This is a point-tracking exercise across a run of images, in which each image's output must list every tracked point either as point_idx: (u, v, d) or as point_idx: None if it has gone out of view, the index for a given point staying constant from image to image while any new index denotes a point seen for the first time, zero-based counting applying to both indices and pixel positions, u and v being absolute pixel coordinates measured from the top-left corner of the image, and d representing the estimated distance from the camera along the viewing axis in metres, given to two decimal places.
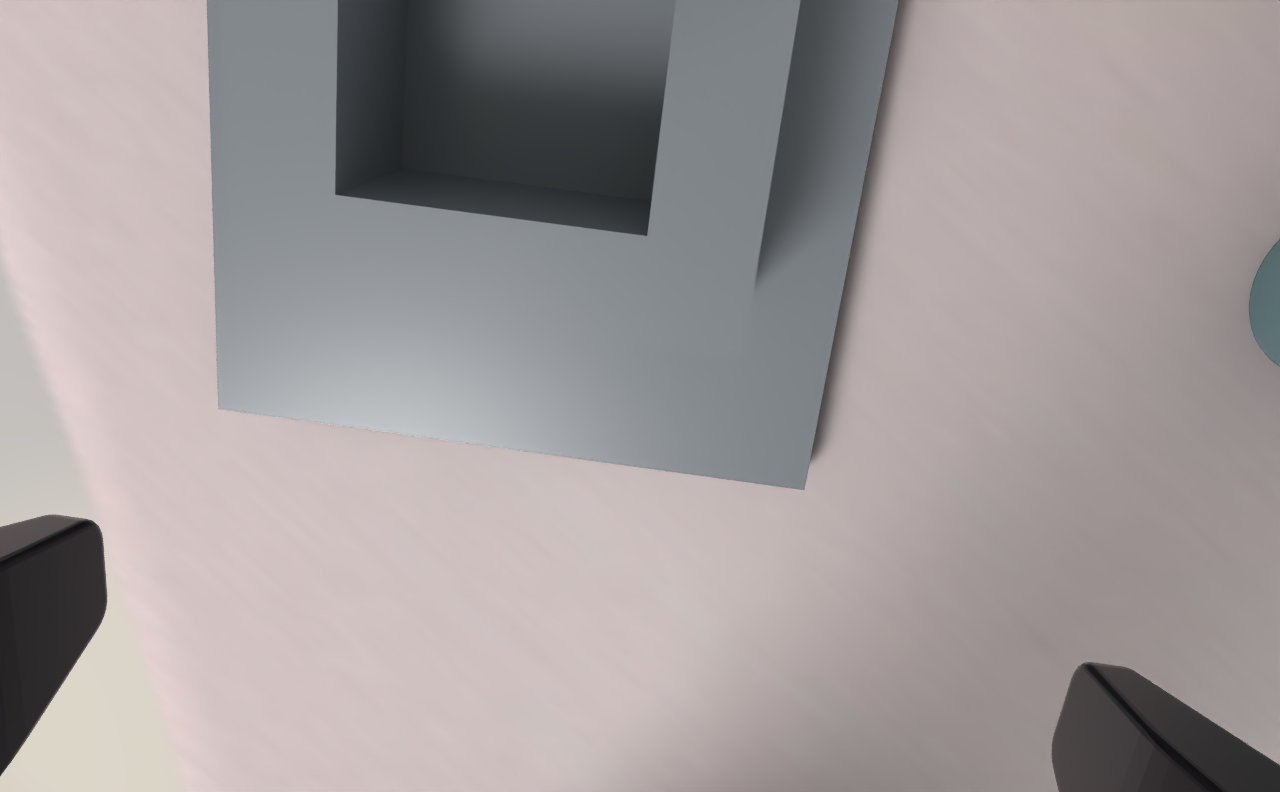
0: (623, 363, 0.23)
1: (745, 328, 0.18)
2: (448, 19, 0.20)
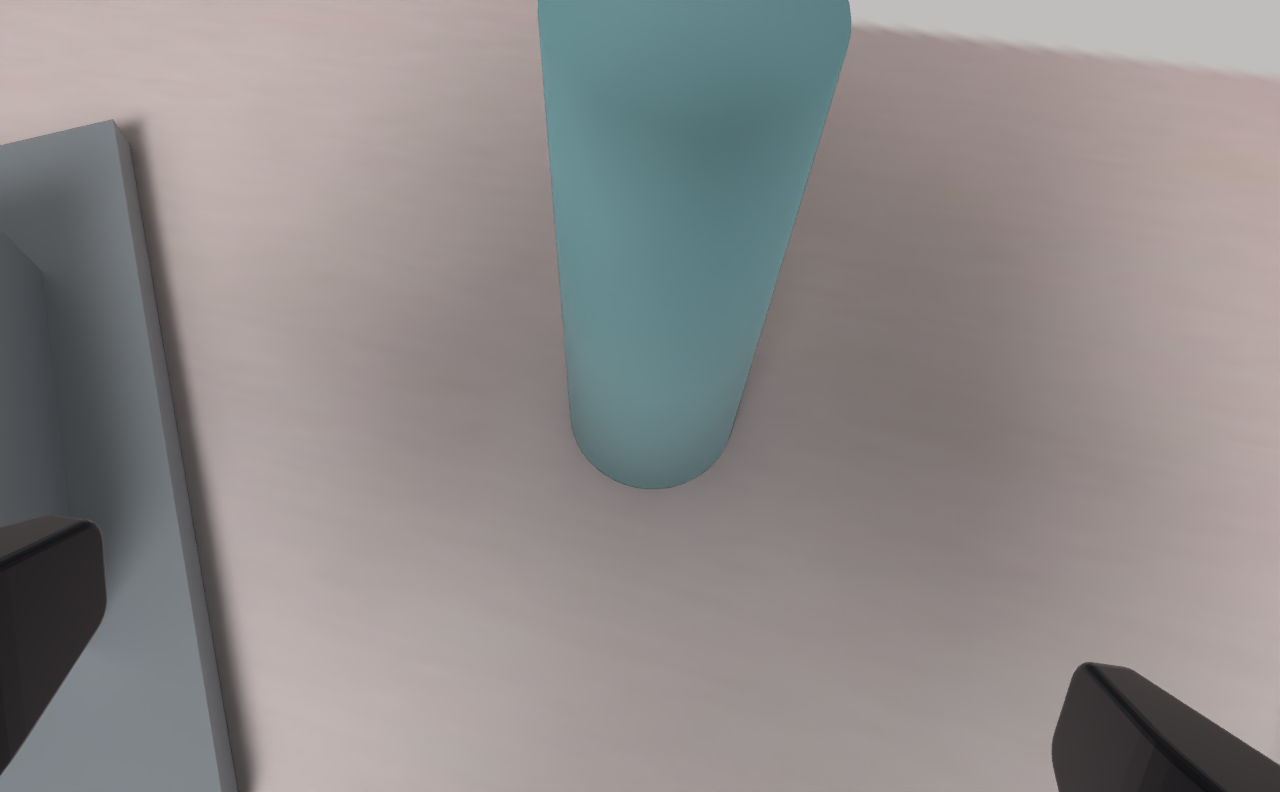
0: None
1: None
2: None
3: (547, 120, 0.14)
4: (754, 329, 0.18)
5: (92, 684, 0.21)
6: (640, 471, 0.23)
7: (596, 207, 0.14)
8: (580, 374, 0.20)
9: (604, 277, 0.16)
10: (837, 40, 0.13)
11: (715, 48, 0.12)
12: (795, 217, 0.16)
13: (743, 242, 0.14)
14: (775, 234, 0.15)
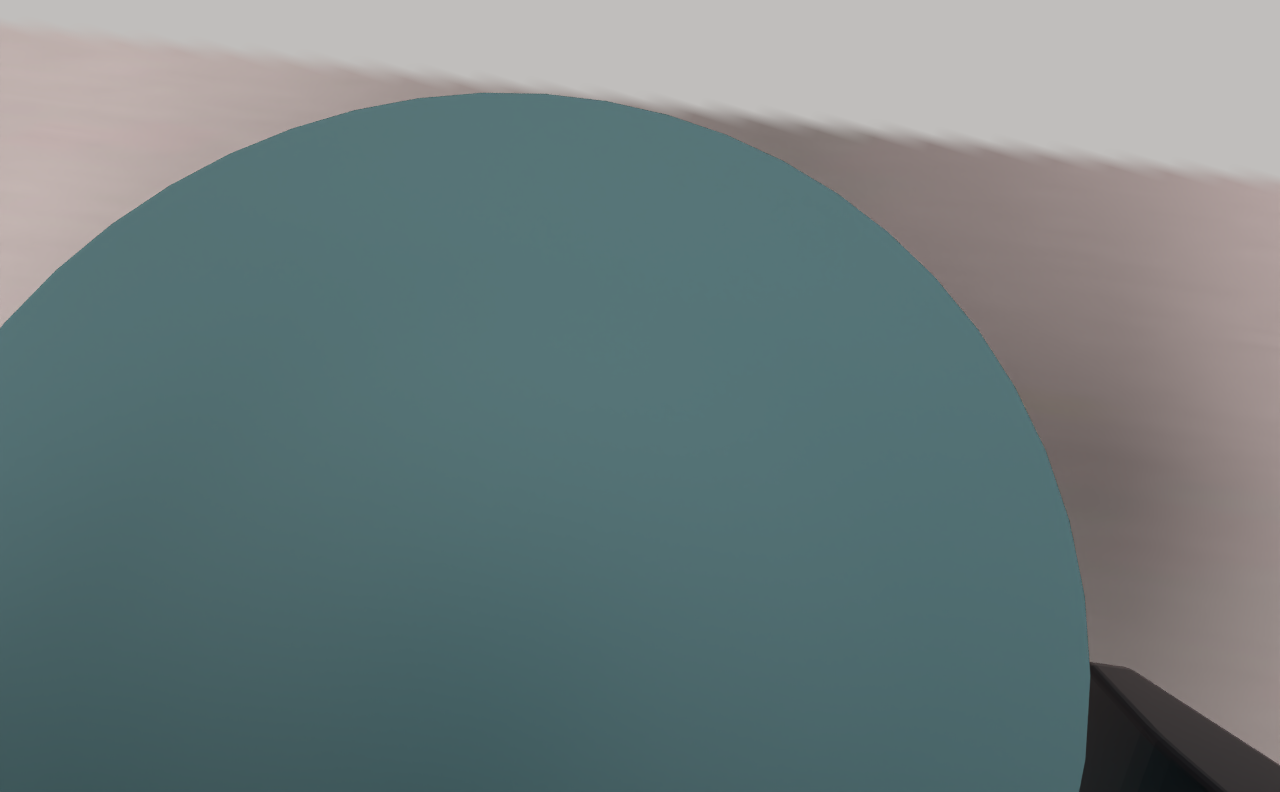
0: None
1: None
2: None
3: None
4: None
5: None
6: None
7: None
8: None
9: None
10: (1041, 703, 0.03)
11: (551, 765, 0.03)
12: None
13: None
14: None
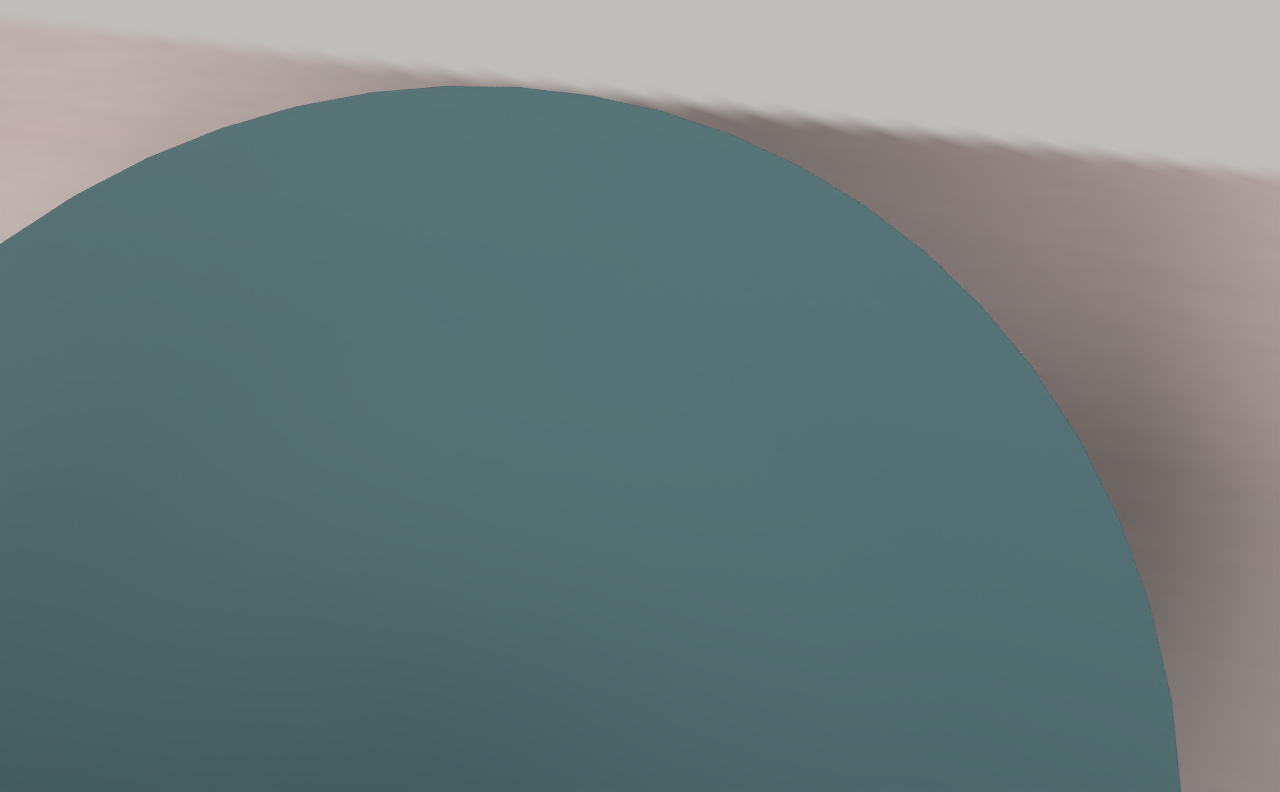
0: None
1: None
2: None
3: None
4: None
5: None
6: None
7: None
8: None
9: None
10: None
11: None
12: None
13: None
14: None
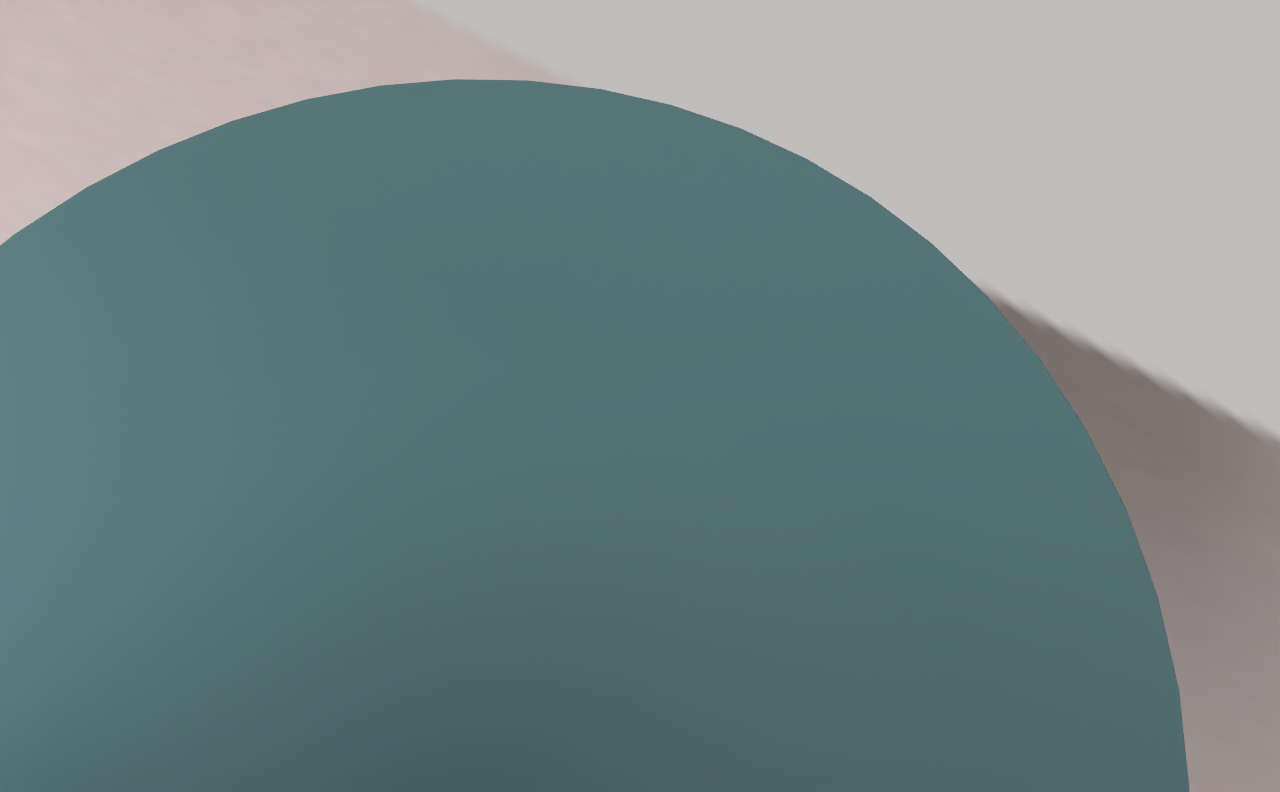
0: None
1: None
2: None
3: None
4: None
5: None
6: None
7: None
8: None
9: None
10: None
11: None
12: None
13: None
14: None
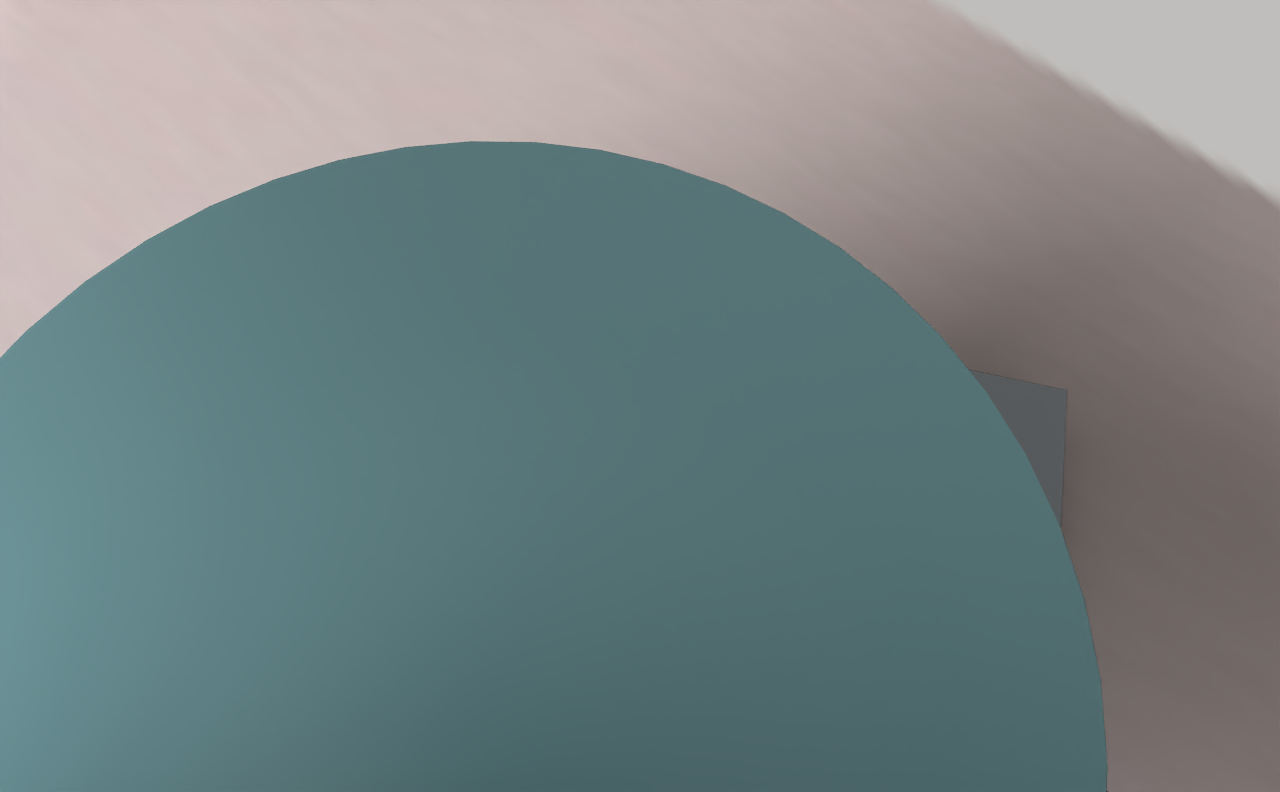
0: None
1: None
2: None
3: None
4: None
5: None
6: None
7: None
8: None
9: None
10: None
11: None
12: None
13: None
14: None
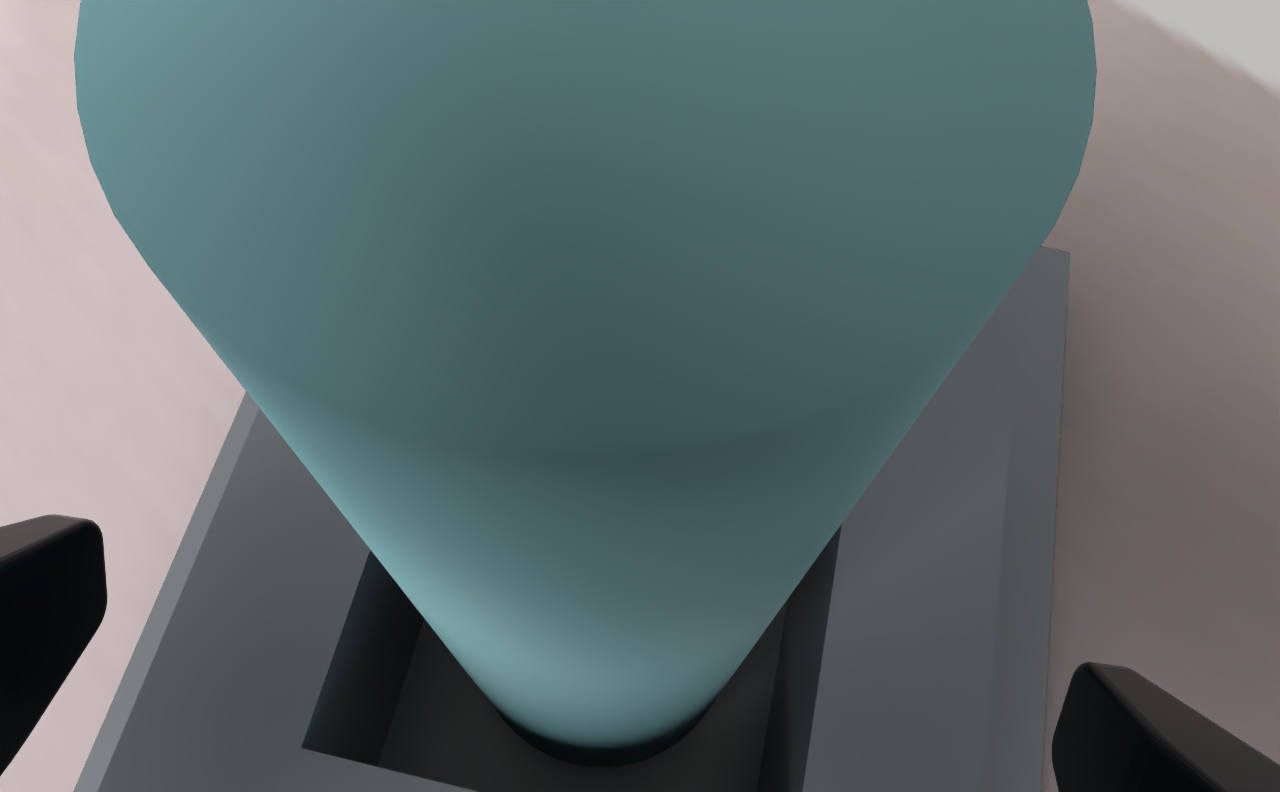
0: None
1: None
2: None
3: None
4: None
5: None
6: (579, 759, 0.14)
7: (360, 522, 0.05)
8: None
9: (431, 611, 0.07)
10: (1057, 87, 0.04)
11: (656, 117, 0.04)
12: None
13: (752, 587, 0.06)
14: (827, 538, 0.06)
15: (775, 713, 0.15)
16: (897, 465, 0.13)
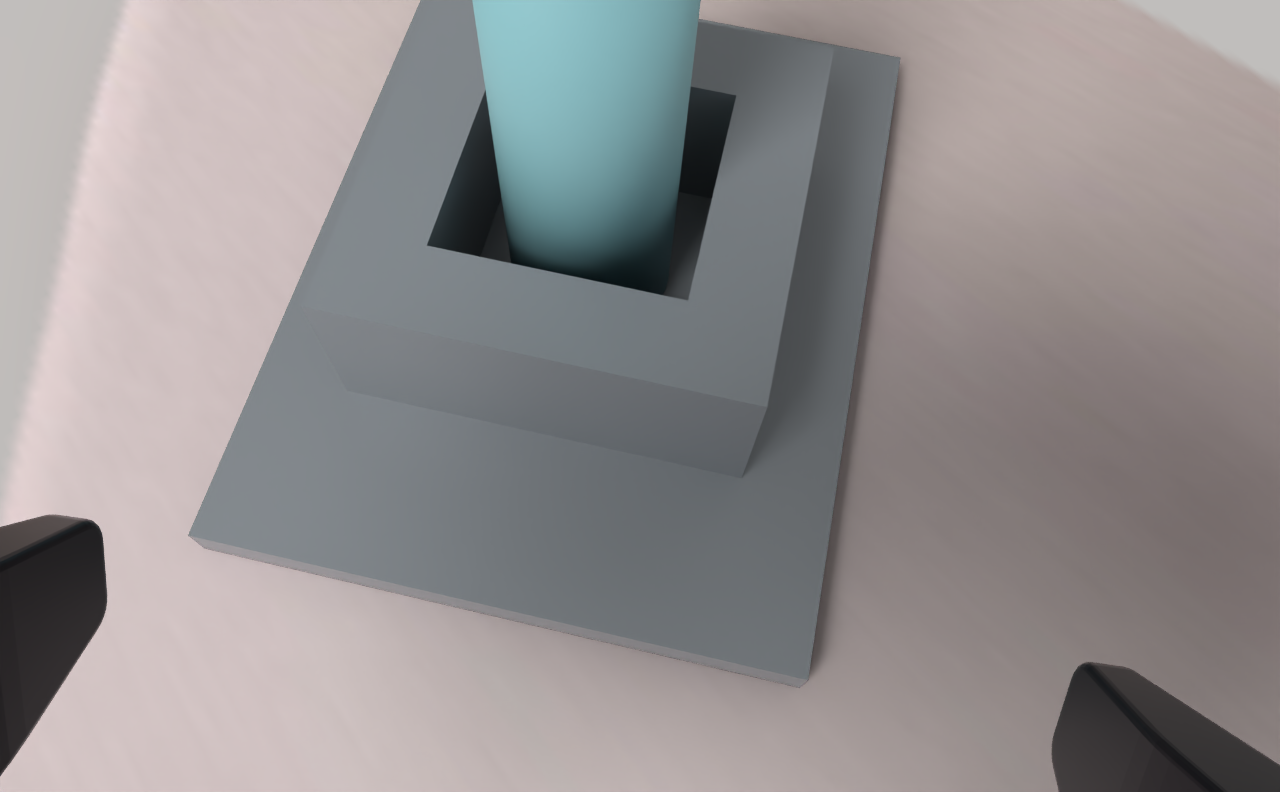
0: (626, 524, 0.23)
1: (770, 380, 0.20)
2: None
3: None
4: (670, 133, 0.19)
5: (737, 510, 0.23)
6: None
7: None
8: (510, 194, 0.21)
9: (516, 53, 0.17)
10: None
11: None
12: None
13: (641, 1, 0.15)
14: (674, 2, 0.16)
15: None
16: (757, 122, 0.23)
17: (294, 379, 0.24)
